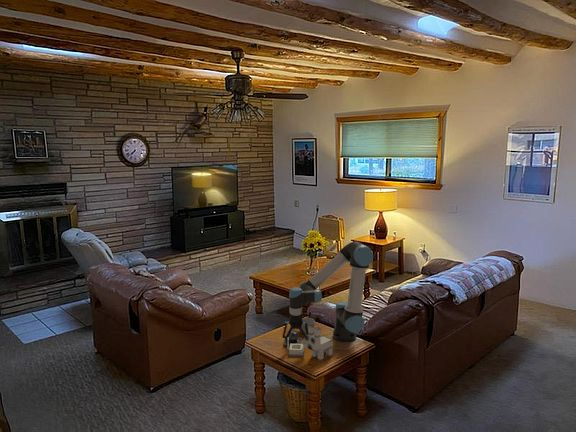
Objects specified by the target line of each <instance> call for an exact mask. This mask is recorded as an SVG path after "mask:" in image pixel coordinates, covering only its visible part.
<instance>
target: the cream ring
mask: <svg viewBox="0 0 576 432" xmlns="http://www.w3.org/2000/svg"><path fill="white" fill-rule="evenodd" d="M303 348H304V343H302V344H290V347H289V349H288V354H299V355H303ZM303 356H304V355H303Z"/></svg>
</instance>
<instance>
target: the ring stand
mask: <svg viewBox="0 0 576 432" xmlns="http://www.w3.org/2000/svg"><path fill="white" fill-rule="evenodd" d="M288 337H289V348H290V344H303V337H299V331H298V330H296V329H292V331H291V333H290V334H289V336H288ZM283 347H287V344H286V343H285V340H284V341H283Z"/></svg>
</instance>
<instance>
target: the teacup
mask: <svg viewBox="0 0 576 432" xmlns="http://www.w3.org/2000/svg"><path fill="white" fill-rule="evenodd" d="M302 321H303V322H307V327H308V326H309V325H314V328H316V326H315V321H316V320H315V319H314V318H311V317H308V316H305V317H302ZM302 329H303V330H304V332H305V334H307V333H306V329H305V326H304V324H302Z"/></svg>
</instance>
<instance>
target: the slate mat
mask: <svg viewBox="0 0 576 432" xmlns="http://www.w3.org/2000/svg"><path fill="white" fill-rule="evenodd" d="M304 353H305V350H304V347H303V355H299V354H289V353H288V357H304Z"/></svg>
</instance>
